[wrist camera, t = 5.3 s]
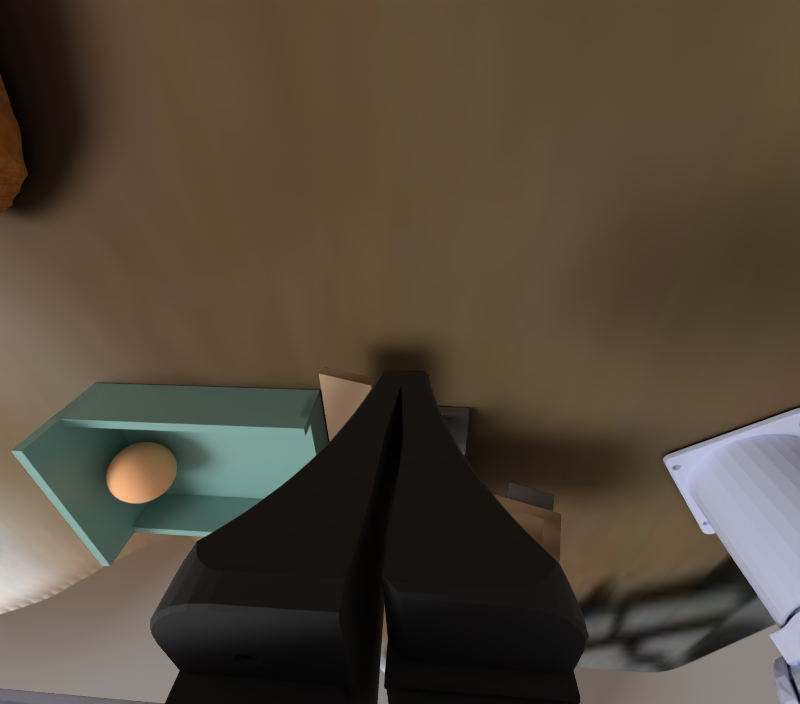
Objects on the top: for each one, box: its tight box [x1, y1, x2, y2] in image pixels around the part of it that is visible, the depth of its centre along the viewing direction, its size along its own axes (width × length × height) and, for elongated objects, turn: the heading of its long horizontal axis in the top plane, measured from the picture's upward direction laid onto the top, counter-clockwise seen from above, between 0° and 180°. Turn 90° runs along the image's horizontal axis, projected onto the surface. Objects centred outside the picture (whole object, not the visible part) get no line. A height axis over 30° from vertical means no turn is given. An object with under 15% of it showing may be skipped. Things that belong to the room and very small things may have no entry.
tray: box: [11, 383, 328, 566], centre depth 25 cm, size 15×11×6 cm
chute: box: [319, 368, 561, 562], centre depth 21 cm, size 13×12×4 cm
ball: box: [106, 442, 177, 503], centre depth 26 cm, size 4×4×4 cm
